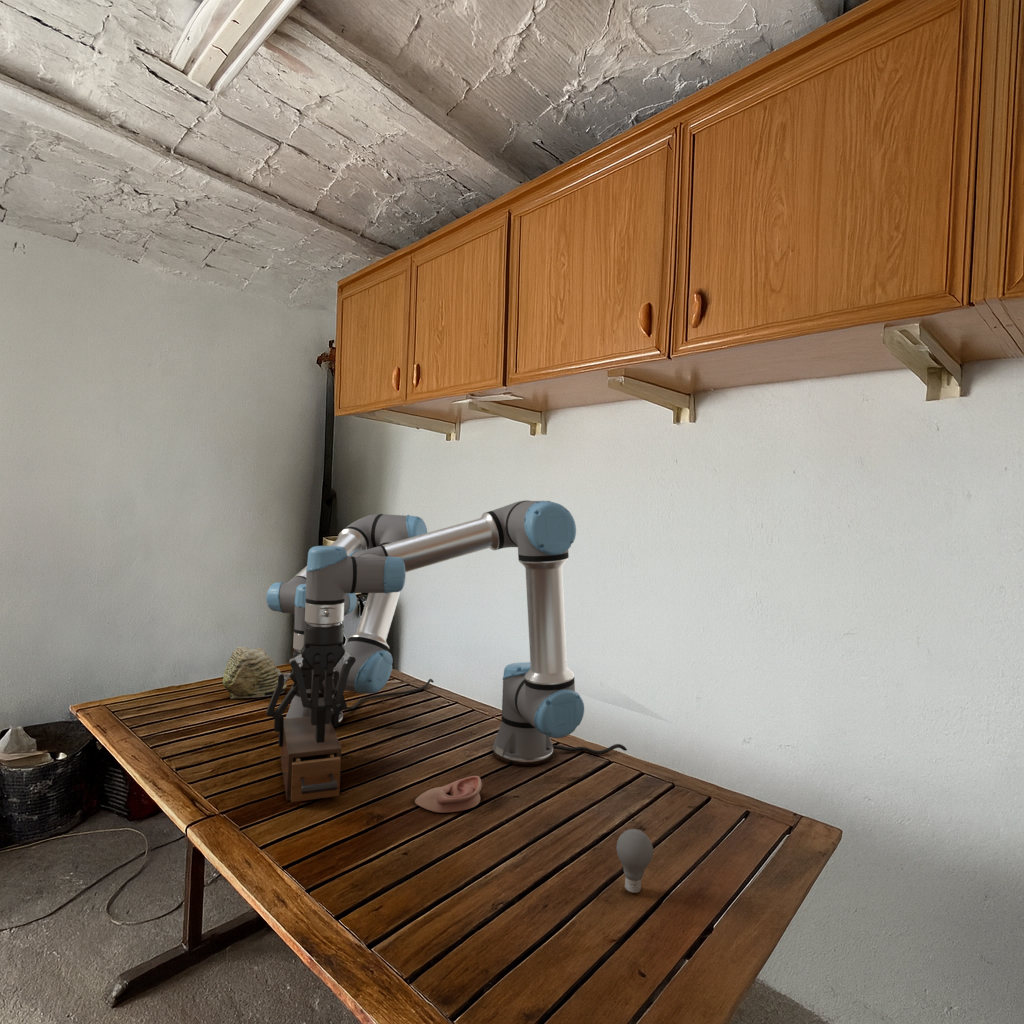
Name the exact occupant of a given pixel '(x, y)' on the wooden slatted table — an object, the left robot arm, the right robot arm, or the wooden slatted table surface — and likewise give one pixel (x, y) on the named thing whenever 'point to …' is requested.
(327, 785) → the drawer
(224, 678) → the fossil
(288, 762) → the cabinet
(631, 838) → the light bulb
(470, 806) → the anatomical model
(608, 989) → the wooden slatted table surface
